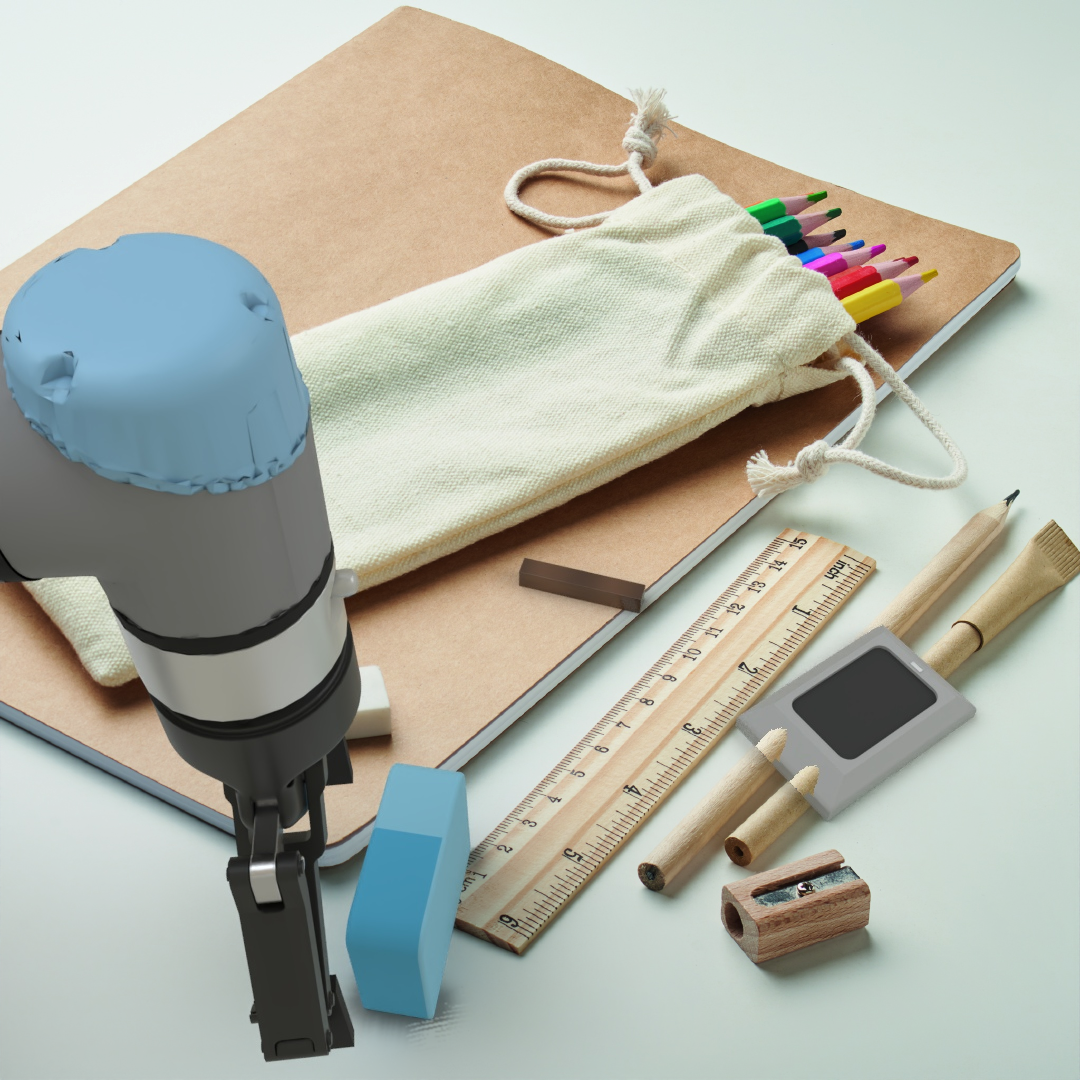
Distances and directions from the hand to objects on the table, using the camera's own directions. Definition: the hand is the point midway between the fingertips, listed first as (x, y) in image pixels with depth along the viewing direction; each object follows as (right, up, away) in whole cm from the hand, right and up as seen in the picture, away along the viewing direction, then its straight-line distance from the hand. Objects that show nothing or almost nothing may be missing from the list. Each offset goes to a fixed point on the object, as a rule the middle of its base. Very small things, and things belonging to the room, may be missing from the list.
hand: (326, 901), depth 59 cm
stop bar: (+14, +13, +39) cm, 43 cm away
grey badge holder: (+34, +3, +31) cm, 46 cm away
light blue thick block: (+3, -8, +20) cm, 22 cm away
